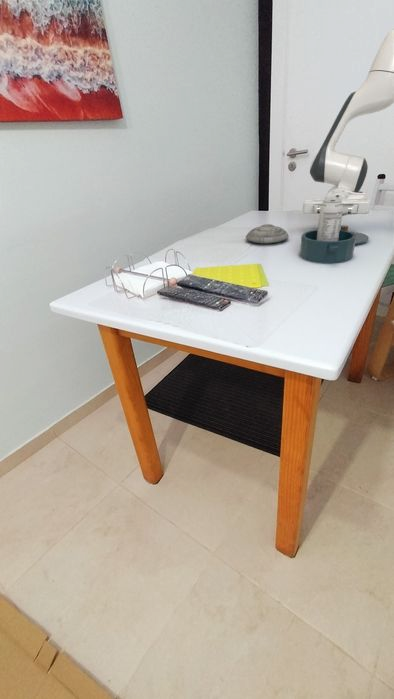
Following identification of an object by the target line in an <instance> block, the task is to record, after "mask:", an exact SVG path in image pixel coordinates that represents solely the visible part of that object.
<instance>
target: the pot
mask: <svg viewBox="0 0 394 699" xmlns="http://www.w3.org/2000/svg"><path fill="white" fill-rule="evenodd" d="M317 232H318V229H311V230H308V231H305V232H303V233H302V234H301V236H300V238H301V239H300V249H299V254H300V255H299V256H300V258H301V259H303V260H304V261H307V262H311V263H316V264H338V263H344V262H347V261H350V260H351V259H352V258H353V255H354V251H355V245H356V244H355V241H356V235H355V234H354V233H352V232H353V231H349V230H348V231H345V230H340V231H339V238H338V241H317Z"/></svg>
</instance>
